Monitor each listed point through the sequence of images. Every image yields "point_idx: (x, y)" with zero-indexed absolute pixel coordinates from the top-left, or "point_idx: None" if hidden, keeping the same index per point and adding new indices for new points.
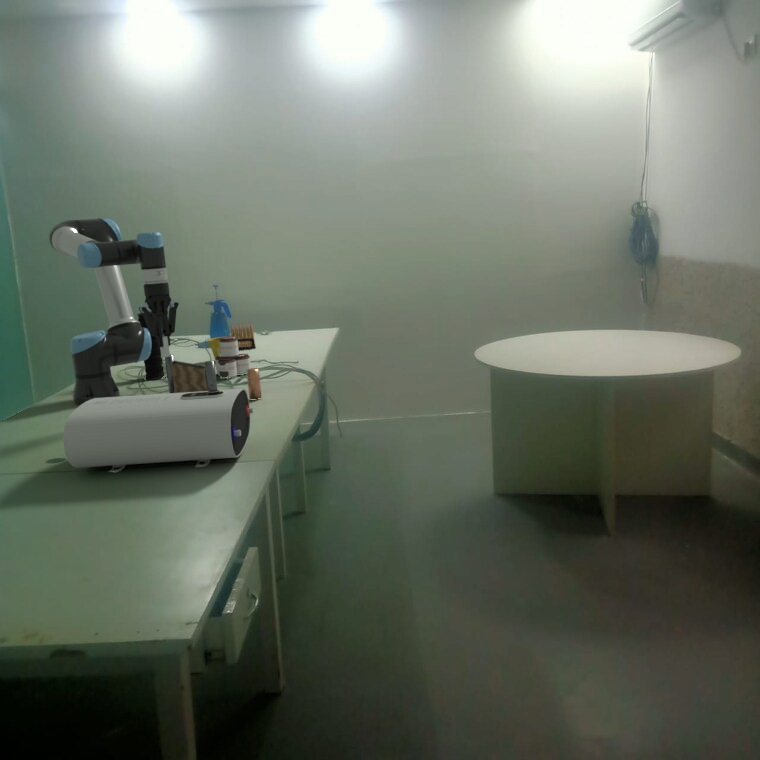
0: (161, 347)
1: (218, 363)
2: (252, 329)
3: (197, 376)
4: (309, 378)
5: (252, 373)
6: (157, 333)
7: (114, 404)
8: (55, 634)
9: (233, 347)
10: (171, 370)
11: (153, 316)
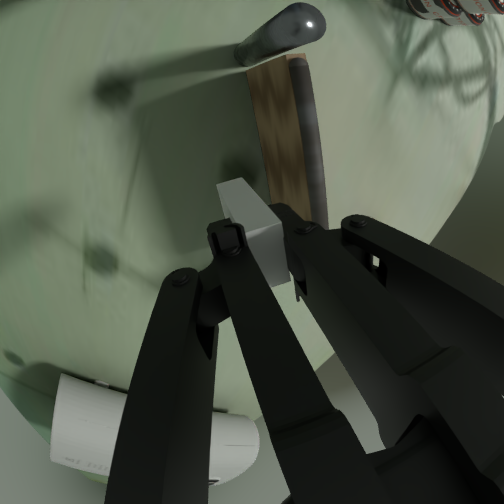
0: (229, 217)
1: None
2: None
3: None
4: (476, 163)
5: None
6: (223, 313)
7: (93, 469)
8: (103, 482)
9: (485, 12)
10: (274, 52)
11: (269, 428)
